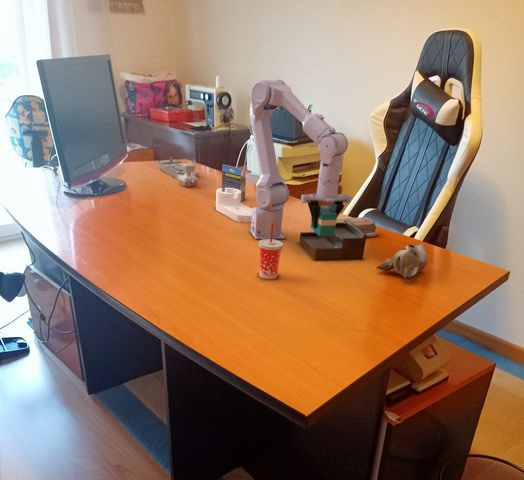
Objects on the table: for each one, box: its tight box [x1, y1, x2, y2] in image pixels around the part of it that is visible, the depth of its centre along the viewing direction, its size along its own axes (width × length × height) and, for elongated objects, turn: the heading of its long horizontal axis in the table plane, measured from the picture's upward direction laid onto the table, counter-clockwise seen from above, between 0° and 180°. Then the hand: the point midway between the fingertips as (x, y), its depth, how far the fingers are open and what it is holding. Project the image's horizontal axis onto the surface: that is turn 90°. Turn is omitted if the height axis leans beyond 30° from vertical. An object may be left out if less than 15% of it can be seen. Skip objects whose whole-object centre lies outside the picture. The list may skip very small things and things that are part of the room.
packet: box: [309, 205, 338, 236], centre depth 151 cm, size 5×8×6 cm, turn 15°
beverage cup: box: [258, 223, 284, 280], centre depth 133 cm, size 6×6×14 cm
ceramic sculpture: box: [376, 243, 429, 280], centre depth 143 cm, size 11×9×15 cm
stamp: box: [176, 163, 200, 188], centre depth 210 cm, size 9×7×8 cm
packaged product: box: [336, 216, 380, 238], centre depth 171 cm, size 18×5×10 cm
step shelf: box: [298, 218, 368, 261], centre depth 155 cm, size 15×15×8 cm
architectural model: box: [156, 156, 199, 179], centre depth 229 cm, size 12×25×5 cm, turn 35°
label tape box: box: [221, 164, 247, 202], centre depth 197 cm, size 9×4×12 cm, turn 58°
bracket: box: [215, 187, 253, 223], centre depth 181 cm, size 20×9×7 cm, turn 33°
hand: (322, 227), depth 152 cm, fingers closed on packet, 4 cm apart
